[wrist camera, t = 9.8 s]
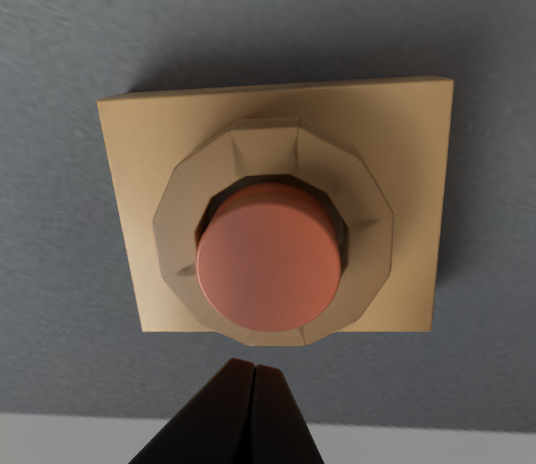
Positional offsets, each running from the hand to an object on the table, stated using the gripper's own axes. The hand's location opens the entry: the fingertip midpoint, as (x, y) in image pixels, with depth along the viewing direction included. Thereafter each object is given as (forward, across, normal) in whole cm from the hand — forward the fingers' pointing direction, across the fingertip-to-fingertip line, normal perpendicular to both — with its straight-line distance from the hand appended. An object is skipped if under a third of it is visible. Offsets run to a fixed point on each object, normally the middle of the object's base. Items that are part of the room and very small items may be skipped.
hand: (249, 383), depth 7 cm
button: (+6, 0, 0) cm, 6 cm away
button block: (+9, 0, 0) cm, 9 cm away
